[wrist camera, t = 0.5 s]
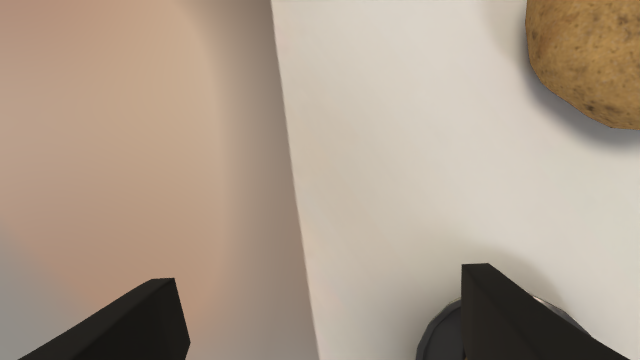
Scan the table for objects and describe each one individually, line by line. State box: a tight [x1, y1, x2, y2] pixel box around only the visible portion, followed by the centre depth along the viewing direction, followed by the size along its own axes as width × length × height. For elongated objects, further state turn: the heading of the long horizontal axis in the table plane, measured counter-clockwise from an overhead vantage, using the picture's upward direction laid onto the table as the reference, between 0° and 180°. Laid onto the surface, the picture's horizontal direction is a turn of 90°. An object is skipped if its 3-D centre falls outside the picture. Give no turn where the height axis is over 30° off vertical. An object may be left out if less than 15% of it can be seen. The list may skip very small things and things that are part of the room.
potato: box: [525, 0, 640, 130], centre depth 28 cm, size 10×14×8 cm
